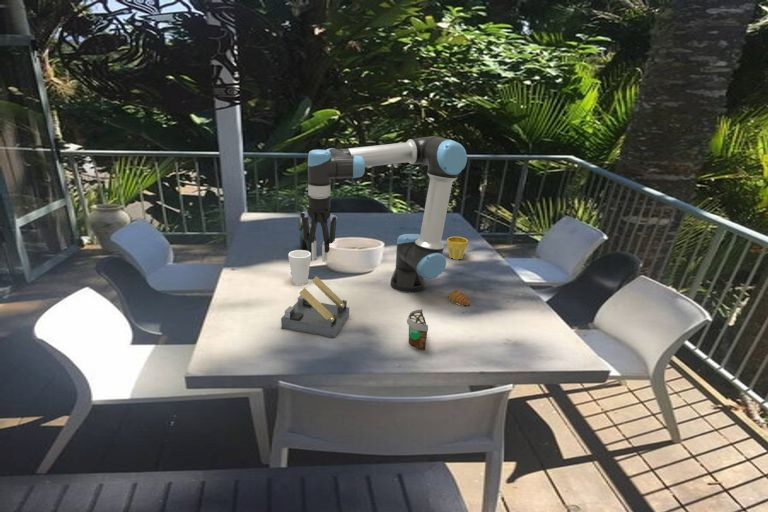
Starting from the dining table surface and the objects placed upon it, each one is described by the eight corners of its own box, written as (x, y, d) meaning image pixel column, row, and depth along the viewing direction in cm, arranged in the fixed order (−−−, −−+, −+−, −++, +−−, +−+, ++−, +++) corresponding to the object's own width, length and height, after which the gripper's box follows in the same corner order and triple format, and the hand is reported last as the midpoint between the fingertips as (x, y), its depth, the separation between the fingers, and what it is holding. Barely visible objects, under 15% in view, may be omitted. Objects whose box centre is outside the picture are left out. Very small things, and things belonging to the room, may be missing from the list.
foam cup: (306, 287, 205) (306, 259, 200) (285, 284, 206) (285, 256, 202) (313, 279, 213) (313, 251, 209) (294, 276, 215) (293, 249, 210)
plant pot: (443, 259, 244) (444, 240, 240) (448, 252, 253) (450, 235, 249) (463, 263, 240) (465, 244, 237) (467, 256, 249) (469, 238, 246)
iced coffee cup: (403, 333, 173) (405, 308, 169) (420, 333, 173) (422, 308, 170) (407, 352, 161) (409, 326, 158) (425, 352, 162) (428, 326, 158)
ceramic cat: (297, 247, 249) (296, 210, 242) (309, 246, 252) (309, 209, 244) (307, 261, 232) (306, 221, 225) (320, 260, 235) (320, 220, 228)
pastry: (473, 305, 198) (474, 296, 196) (461, 308, 194) (462, 300, 193) (458, 296, 205) (459, 287, 203) (446, 299, 201) (447, 291, 200)
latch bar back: (343, 306, 180) (346, 304, 180) (341, 310, 178) (343, 307, 177) (314, 278, 179) (316, 275, 179) (311, 281, 177) (313, 278, 176)
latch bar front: (333, 320, 170) (336, 317, 170) (330, 324, 168) (333, 321, 167) (302, 290, 169) (304, 287, 169) (298, 293, 167) (301, 290, 166)
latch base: (349, 316, 183) (349, 300, 180) (334, 338, 168) (334, 320, 165) (300, 308, 187) (299, 292, 185) (281, 328, 172) (280, 311, 169)
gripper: (345, 196, 168) (344, 259, 176) (301, 191, 171) (302, 253, 180) (338, 201, 161) (337, 266, 169) (292, 196, 164) (293, 260, 173)
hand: (319, 259), depth 174 cm, fingers open, 3 cm apart
